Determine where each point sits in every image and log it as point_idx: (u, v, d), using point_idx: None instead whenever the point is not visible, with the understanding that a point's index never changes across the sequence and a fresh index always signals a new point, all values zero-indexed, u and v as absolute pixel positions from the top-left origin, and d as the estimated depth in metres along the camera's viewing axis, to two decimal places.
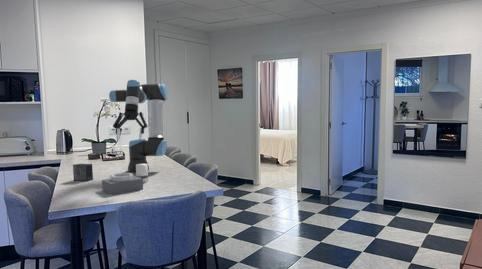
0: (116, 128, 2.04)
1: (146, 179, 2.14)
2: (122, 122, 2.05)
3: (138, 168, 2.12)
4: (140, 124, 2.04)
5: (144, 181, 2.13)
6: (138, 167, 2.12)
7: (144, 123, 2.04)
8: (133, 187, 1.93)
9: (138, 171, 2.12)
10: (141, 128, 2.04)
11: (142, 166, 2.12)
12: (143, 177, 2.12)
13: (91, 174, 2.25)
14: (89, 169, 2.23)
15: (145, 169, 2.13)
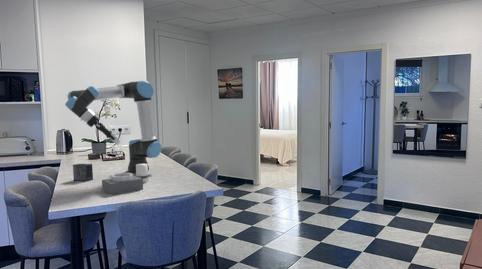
0: None
1: (146, 179, 2.14)
2: None
3: (138, 168, 2.12)
4: None
5: (144, 181, 2.13)
6: (138, 167, 2.12)
7: (105, 134, 1.99)
8: (133, 187, 1.93)
9: (138, 171, 2.12)
10: None
11: (142, 166, 2.12)
12: (143, 177, 2.12)
13: (91, 174, 2.25)
14: (89, 169, 2.23)
15: (145, 169, 2.13)
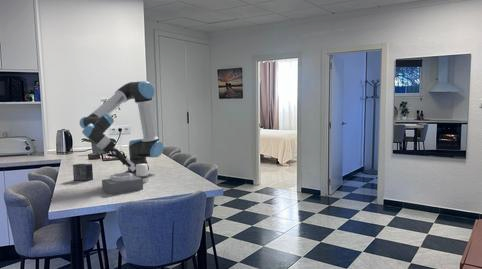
0: None
1: (146, 179, 2.14)
2: None
3: (138, 168, 2.12)
4: None
5: (144, 181, 2.13)
6: (138, 167, 2.12)
7: (121, 161, 2.01)
8: (133, 187, 1.93)
9: (138, 171, 2.12)
10: None
11: (142, 166, 2.12)
12: (143, 177, 2.12)
13: (91, 174, 2.25)
14: (89, 169, 2.23)
15: (145, 169, 2.13)
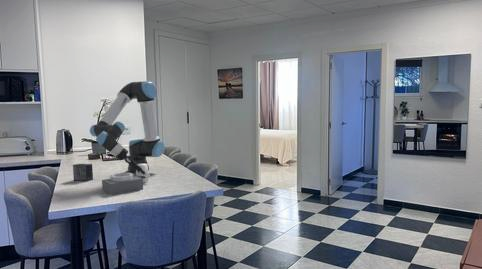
0: None
1: (146, 179, 2.14)
2: None
3: None
4: None
5: (144, 181, 2.13)
6: None
7: (136, 169, 2.07)
8: (133, 187, 1.93)
9: None
10: None
11: (142, 166, 2.12)
12: (143, 177, 2.12)
13: (91, 174, 2.25)
14: (89, 169, 2.23)
15: (145, 169, 2.13)
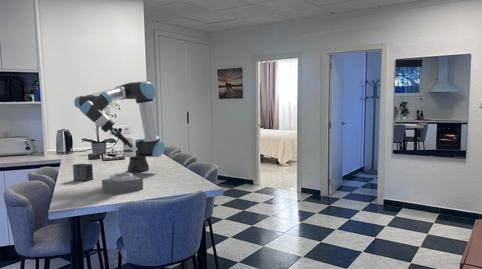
0: None
1: (133, 153, 2.01)
2: None
3: None
4: None
5: (131, 155, 2.00)
6: None
7: (122, 141, 1.95)
8: (133, 187, 1.93)
9: None
10: None
11: (129, 139, 1.99)
12: (130, 150, 2.00)
13: (91, 174, 2.25)
14: (89, 169, 2.23)
15: (132, 142, 2.00)
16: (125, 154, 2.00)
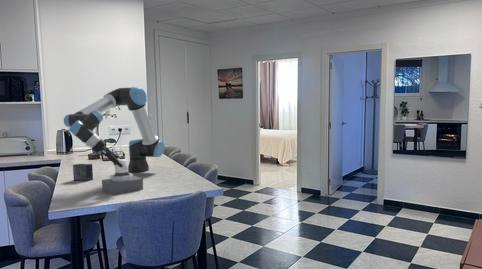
0: None
1: None
2: None
3: None
4: None
5: None
6: None
7: (112, 161, 1.85)
8: (133, 187, 1.93)
9: (117, 167, 1.92)
10: None
11: (121, 162, 1.92)
12: (122, 174, 1.92)
13: (91, 174, 2.25)
14: (89, 169, 2.23)
15: (125, 165, 1.93)
16: None
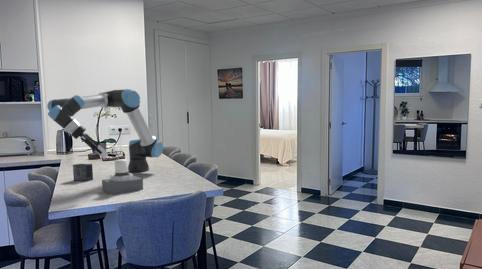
0: None
1: None
2: None
3: (116, 164, 1.92)
4: None
5: None
6: (117, 163, 1.92)
7: (91, 147, 1.81)
8: (133, 187, 1.93)
9: (117, 167, 1.92)
10: None
11: (121, 162, 1.92)
12: (122, 174, 1.92)
13: (91, 174, 2.25)
14: (89, 169, 2.23)
15: (125, 165, 1.93)
16: None
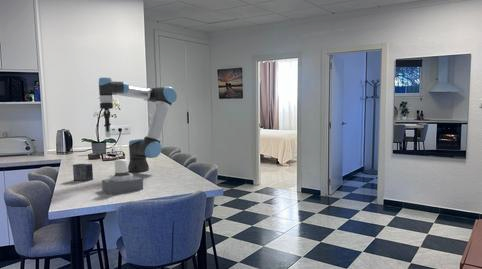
0: None
1: None
2: None
3: (116, 164, 1.92)
4: None
5: None
6: (117, 163, 1.92)
7: (105, 122, 2.10)
8: (133, 187, 1.93)
9: (117, 167, 1.92)
10: None
11: (121, 162, 1.92)
12: (122, 174, 1.92)
13: (91, 174, 2.25)
14: (89, 169, 2.23)
15: (125, 165, 1.93)
16: None
